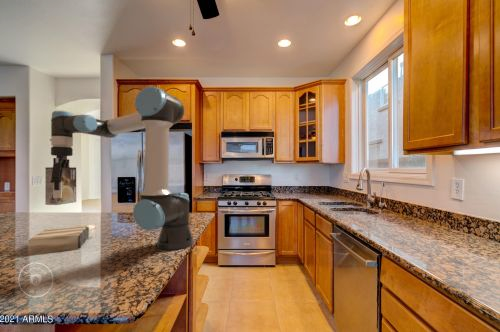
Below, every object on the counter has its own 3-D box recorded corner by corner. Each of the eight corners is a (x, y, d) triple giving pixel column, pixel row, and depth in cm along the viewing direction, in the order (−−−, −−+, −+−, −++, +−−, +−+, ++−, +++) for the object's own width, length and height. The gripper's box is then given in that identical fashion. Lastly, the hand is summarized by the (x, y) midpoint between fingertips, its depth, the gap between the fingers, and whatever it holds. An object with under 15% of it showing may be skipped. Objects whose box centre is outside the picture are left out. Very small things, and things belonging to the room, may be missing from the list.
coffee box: (65, 202, 110) (65, 167, 110) (76, 202, 108) (77, 167, 109) (44, 204, 101) (45, 167, 101) (56, 205, 99) (57, 167, 100)
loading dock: (80, 249, 100) (80, 234, 100) (28, 255, 92) (28, 239, 93) (88, 238, 116) (88, 225, 116) (45, 242, 109) (45, 229, 109)
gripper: (59, 148, 114) (58, 194, 113) (41, 143, 93) (40, 199, 92) (78, 149, 117) (77, 194, 116) (65, 144, 96) (64, 198, 96)
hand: (61, 196), depth 104 cm, fingers closed on coffee box, 10 cm apart
